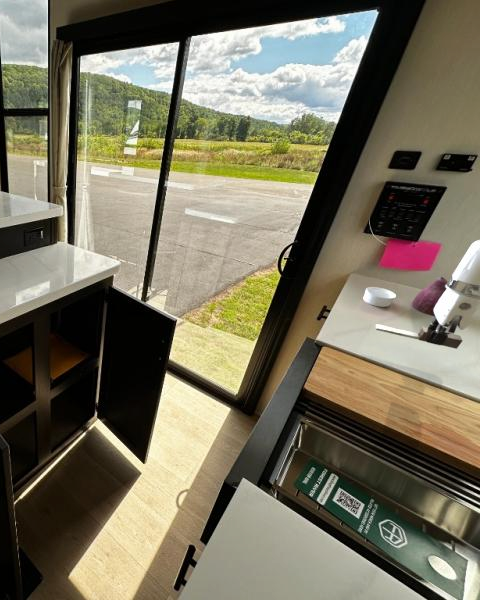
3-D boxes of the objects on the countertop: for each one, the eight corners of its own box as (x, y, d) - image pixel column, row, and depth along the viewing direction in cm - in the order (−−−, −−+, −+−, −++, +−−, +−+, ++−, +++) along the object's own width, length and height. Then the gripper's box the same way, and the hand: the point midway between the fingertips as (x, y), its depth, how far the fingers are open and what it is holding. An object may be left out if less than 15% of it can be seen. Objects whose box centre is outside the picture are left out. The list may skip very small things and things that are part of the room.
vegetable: (418, 321, 117) (431, 289, 108) (403, 303, 124) (414, 272, 116) (457, 319, 113) (473, 285, 104) (439, 301, 121) (453, 268, 112)
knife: (454, 343, 93) (460, 335, 91) (456, 348, 91) (462, 340, 89) (374, 325, 102) (378, 318, 100) (375, 330, 100) (379, 322, 98)
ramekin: (368, 306, 120) (373, 297, 118) (356, 295, 127) (361, 285, 125) (396, 309, 118) (401, 299, 116) (382, 297, 126) (387, 287, 123)
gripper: (500, 303, 77) (457, 360, 86) (478, 276, 88) (443, 329, 98) (456, 296, 81) (420, 351, 90) (441, 271, 92) (410, 322, 101)
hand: (432, 339), depth 94 cm, fingers closed on knife, 2 cm apart
